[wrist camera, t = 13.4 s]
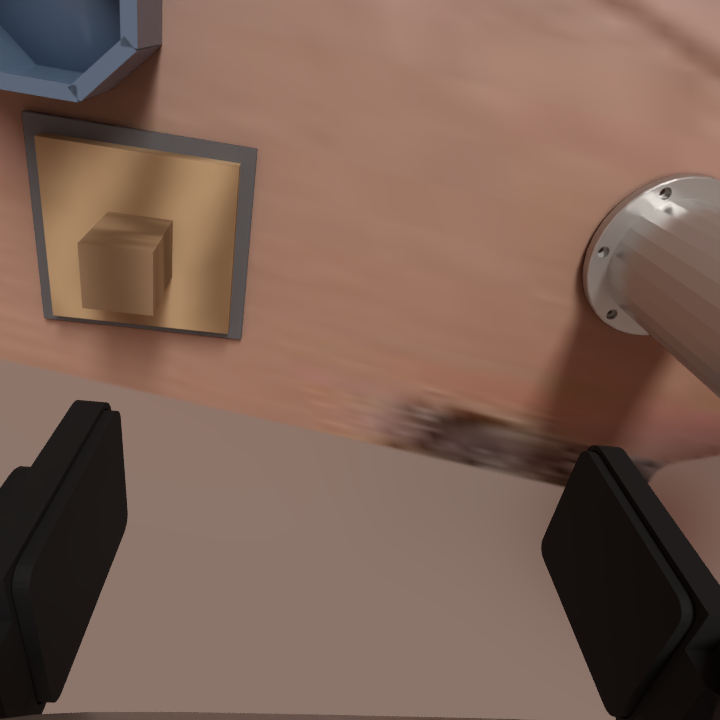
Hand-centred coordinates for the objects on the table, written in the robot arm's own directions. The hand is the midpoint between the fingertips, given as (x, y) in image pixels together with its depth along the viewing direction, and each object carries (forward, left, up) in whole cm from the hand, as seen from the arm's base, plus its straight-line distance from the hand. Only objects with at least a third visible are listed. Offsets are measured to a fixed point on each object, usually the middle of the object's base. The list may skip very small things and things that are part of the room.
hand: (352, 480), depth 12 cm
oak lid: (+11, +7, -30) cm, 33 cm away
